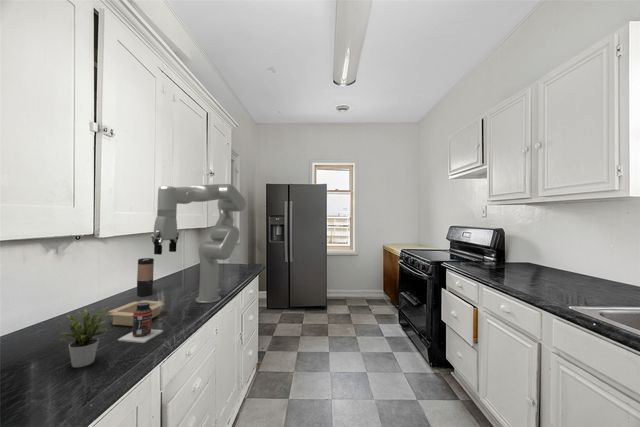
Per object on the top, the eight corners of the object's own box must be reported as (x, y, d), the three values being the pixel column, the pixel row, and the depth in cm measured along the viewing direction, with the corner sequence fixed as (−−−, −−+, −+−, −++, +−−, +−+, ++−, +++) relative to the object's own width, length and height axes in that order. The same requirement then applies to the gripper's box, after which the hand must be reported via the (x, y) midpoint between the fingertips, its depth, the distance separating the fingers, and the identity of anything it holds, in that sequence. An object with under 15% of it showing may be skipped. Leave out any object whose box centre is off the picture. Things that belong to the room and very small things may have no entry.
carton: (138, 310, 132) (138, 299, 132) (168, 312, 130) (168, 302, 130) (101, 326, 113) (102, 313, 113) (136, 329, 111) (137, 316, 111)
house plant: (122, 347, 95) (124, 299, 96) (110, 368, 83) (112, 312, 83) (69, 354, 90) (71, 303, 90) (47, 377, 77) (49, 317, 77)
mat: (139, 329, 110) (139, 328, 110) (162, 331, 109) (163, 330, 109) (118, 340, 101) (118, 339, 101) (143, 343, 99) (143, 341, 99)
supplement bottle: (142, 338, 102) (143, 306, 102) (128, 336, 103) (129, 305, 103) (155, 331, 108) (156, 302, 108) (141, 330, 109) (142, 300, 109)
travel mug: (151, 292, 162) (152, 257, 163) (153, 295, 156) (155, 259, 157) (135, 294, 157) (136, 258, 158) (137, 297, 152) (139, 260, 152)
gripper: (171, 214, 134) (170, 250, 134) (144, 213, 117) (143, 255, 117) (186, 214, 133) (185, 251, 133) (161, 214, 116) (160, 255, 116)
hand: (165, 252), depth 125 cm, fingers open, 9 cm apart
